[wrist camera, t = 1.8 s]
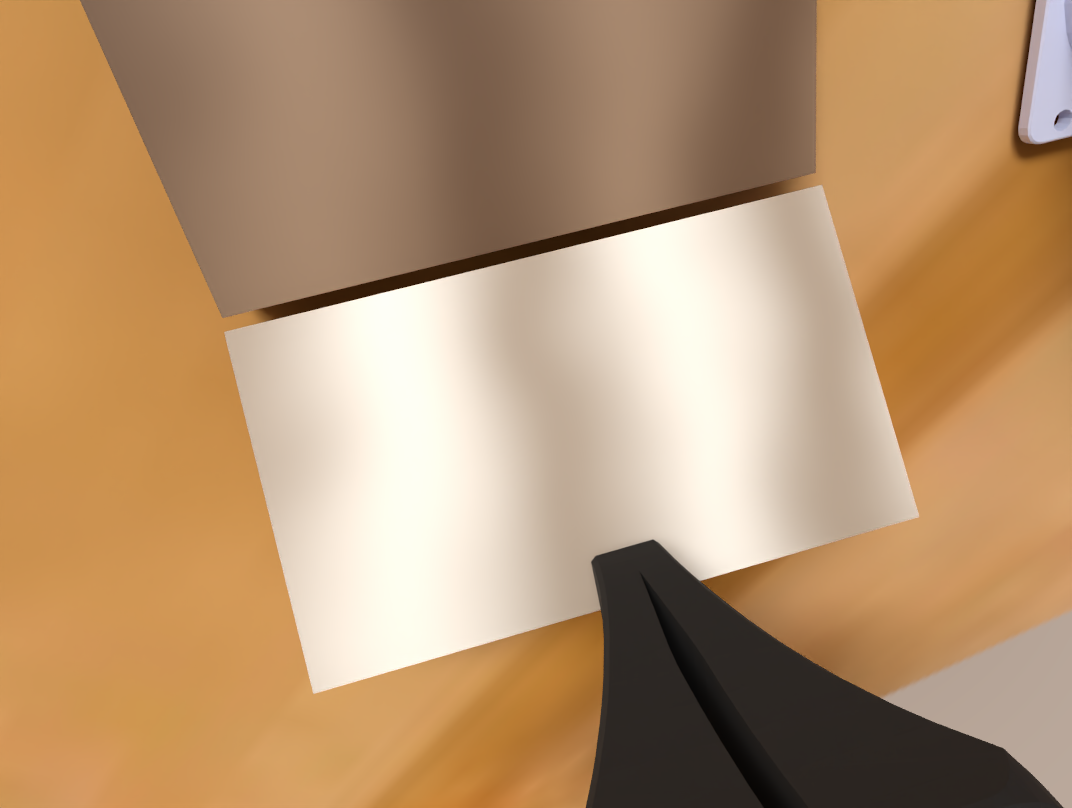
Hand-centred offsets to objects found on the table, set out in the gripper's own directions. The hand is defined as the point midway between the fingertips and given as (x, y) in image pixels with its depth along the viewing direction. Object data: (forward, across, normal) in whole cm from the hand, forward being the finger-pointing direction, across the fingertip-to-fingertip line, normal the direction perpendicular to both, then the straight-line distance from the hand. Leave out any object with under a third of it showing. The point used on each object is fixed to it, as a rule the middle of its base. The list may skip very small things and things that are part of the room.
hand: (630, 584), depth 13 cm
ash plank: (+4, 0, -1) cm, 5 cm away
